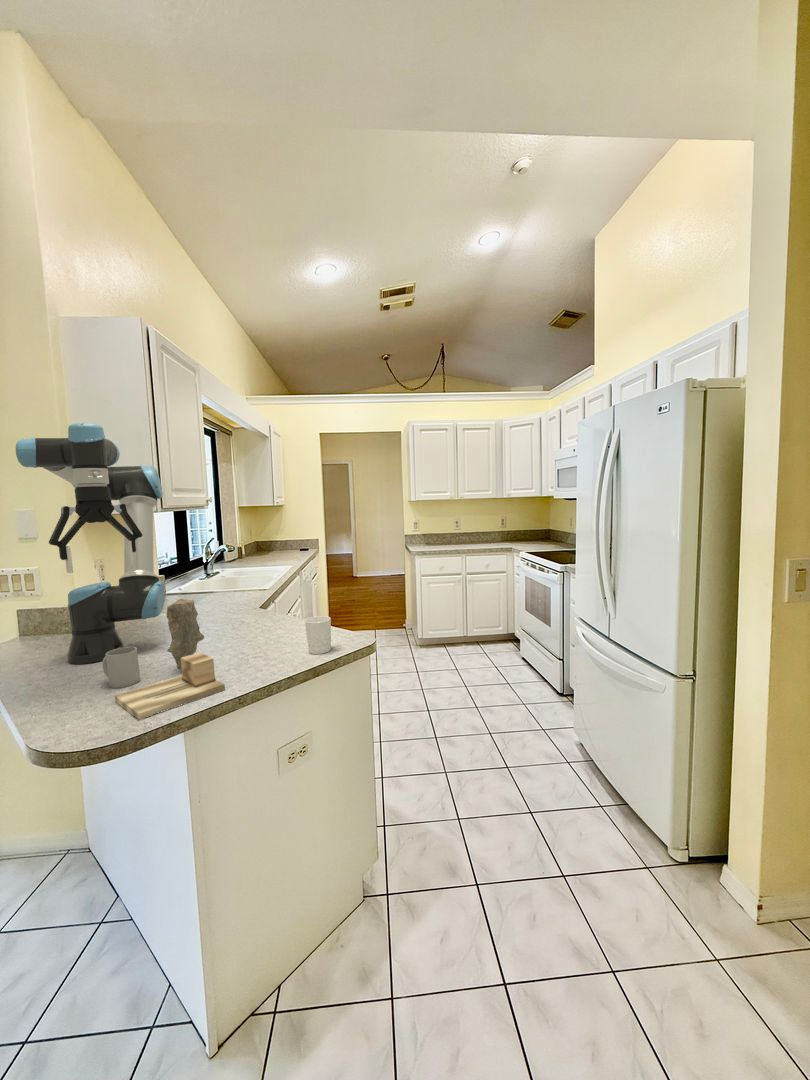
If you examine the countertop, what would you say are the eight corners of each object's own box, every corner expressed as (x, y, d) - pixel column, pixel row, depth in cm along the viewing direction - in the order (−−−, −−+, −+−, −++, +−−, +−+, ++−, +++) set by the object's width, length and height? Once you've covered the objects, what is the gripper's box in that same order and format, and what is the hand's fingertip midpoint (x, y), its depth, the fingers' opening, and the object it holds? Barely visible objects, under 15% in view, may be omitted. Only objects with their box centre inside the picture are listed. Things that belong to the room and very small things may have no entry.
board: (115, 701, 114) (114, 695, 114) (197, 675, 129) (196, 670, 129) (139, 720, 104) (138, 713, 103) (225, 689, 118) (224, 683, 118)
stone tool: (174, 677, 128) (167, 606, 127) (162, 674, 131) (155, 604, 129) (212, 662, 139) (206, 596, 137) (200, 660, 142) (194, 595, 140)
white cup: (337, 648, 146) (335, 617, 146) (320, 656, 140) (318, 623, 139) (319, 645, 151) (317, 615, 150) (301, 652, 144) (299, 621, 143)
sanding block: (181, 680, 122) (180, 657, 122) (201, 674, 126) (199, 652, 125) (195, 687, 117) (193, 664, 116) (215, 681, 120) (213, 658, 120)
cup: (125, 689, 122) (121, 656, 121) (94, 687, 124) (90, 654, 124) (146, 678, 129) (143, 647, 128) (116, 676, 131) (113, 646, 131)
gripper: (33, 486, 107) (45, 577, 109) (150, 484, 126) (158, 562, 128) (27, 487, 112) (38, 575, 114) (140, 485, 131) (147, 561, 133)
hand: (101, 568), depth 121 cm, fingers open, 13 cm apart
